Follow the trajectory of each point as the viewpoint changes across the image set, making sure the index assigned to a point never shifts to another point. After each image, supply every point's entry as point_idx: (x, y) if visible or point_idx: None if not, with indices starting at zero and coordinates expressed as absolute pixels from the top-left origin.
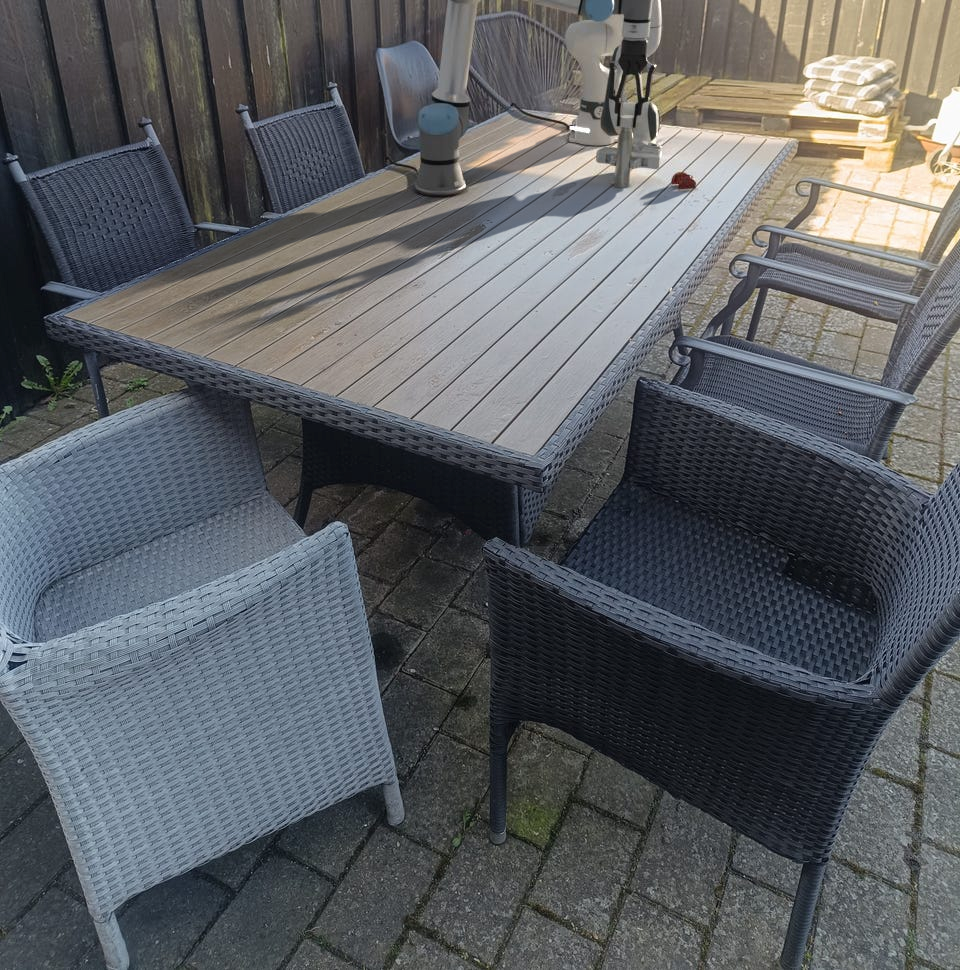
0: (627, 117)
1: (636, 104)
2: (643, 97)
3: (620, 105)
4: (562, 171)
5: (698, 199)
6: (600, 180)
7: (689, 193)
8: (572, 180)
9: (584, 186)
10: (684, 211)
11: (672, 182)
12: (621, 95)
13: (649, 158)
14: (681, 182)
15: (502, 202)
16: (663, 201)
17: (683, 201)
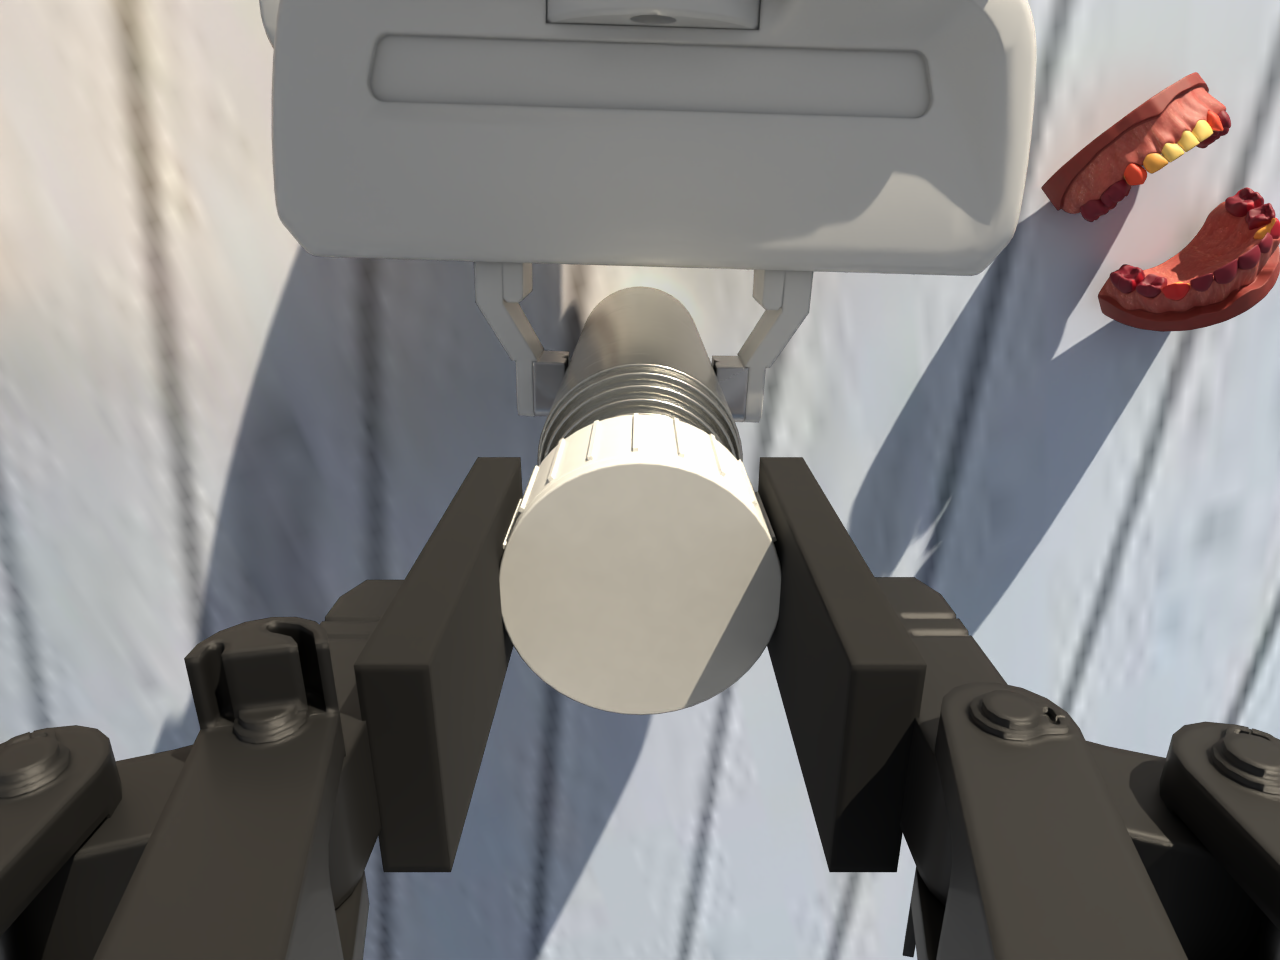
0: (648, 654)
1: (862, 870)
2: (1104, 788)
3: (455, 831)
4: (27, 104)
5: (1238, 481)
6: (442, 265)
7: (1182, 362)
8: (236, 349)
9: (385, 467)
10: (1126, 736)
11: (1060, 203)
12: (321, 841)
13: (897, 273)
14: (1151, 323)
15: None
16: (991, 602)
17: (1127, 559)
